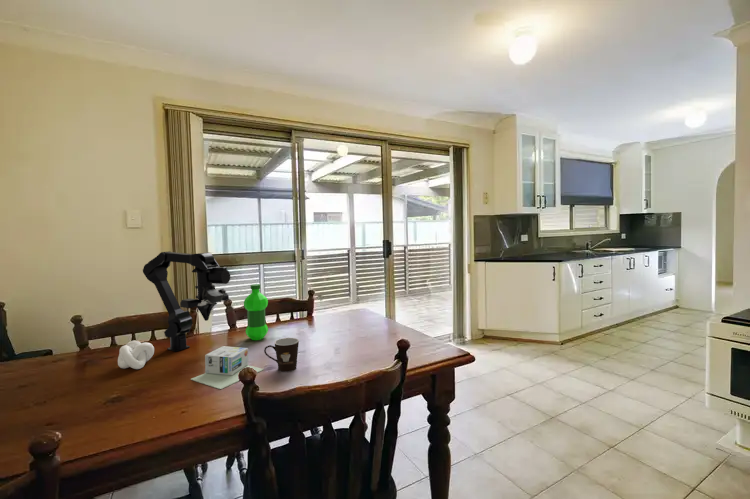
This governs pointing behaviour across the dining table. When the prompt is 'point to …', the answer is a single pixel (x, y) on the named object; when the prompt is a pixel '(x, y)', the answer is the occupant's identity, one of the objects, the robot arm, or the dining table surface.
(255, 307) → the plastic bottle
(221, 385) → the mat
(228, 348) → the light bulb box
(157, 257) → the robot arm
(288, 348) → the coffee mug
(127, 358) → the white decorative knot
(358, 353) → the dining table surface
